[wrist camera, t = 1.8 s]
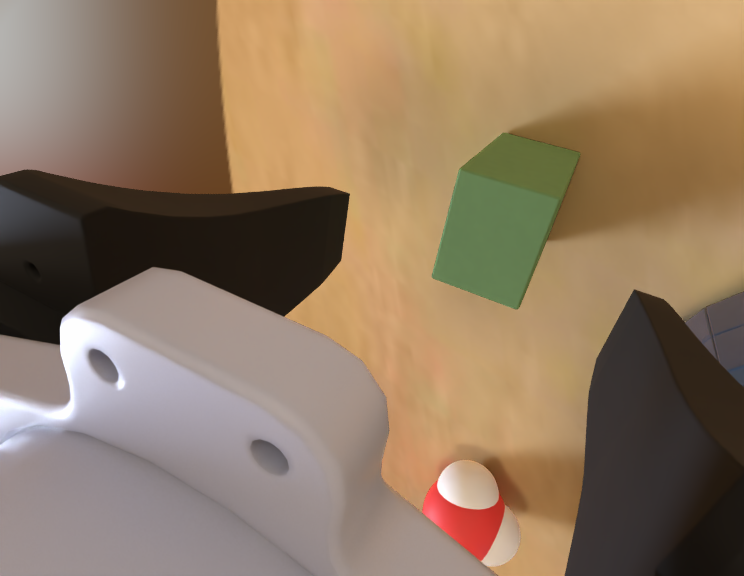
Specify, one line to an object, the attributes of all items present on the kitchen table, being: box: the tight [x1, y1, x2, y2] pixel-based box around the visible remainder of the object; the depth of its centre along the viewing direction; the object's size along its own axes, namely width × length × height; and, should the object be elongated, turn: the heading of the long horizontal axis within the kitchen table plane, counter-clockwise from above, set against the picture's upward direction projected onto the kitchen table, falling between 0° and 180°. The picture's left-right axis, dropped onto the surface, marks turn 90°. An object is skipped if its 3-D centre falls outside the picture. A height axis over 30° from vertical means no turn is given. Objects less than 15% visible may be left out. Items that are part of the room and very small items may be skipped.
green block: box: [432, 133, 580, 309], centre depth 16 cm, size 4×3×6 cm
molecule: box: [423, 460, 521, 566], centre depth 24 cm, size 5×5×4 cm
